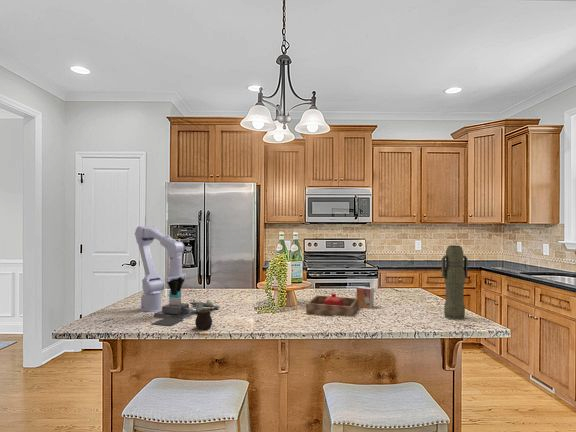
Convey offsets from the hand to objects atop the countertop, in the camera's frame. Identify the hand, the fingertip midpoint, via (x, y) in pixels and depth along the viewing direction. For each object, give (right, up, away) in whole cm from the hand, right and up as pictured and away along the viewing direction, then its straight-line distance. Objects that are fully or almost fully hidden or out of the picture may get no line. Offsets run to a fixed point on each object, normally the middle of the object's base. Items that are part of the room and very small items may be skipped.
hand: (175, 294), depth 187 cm
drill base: (0, -10, 0) cm, 10 cm away
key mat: (+1, -10, -14) cm, 17 cm away
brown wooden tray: (+79, -11, +10) cm, 80 cm away
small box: (+97, -11, +19) cm, 99 cm away
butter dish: (+79, -11, +13) cm, 81 cm away
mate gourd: (+19, -10, -23) cm, 32 cm away
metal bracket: (+19, -8, +8) cm, 22 cm away
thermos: (+134, -11, -7) cm, 134 cm away
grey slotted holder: (+3, -8, -1) cm, 9 cm away
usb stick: (0, -5, 0) cm, 5 cm away
